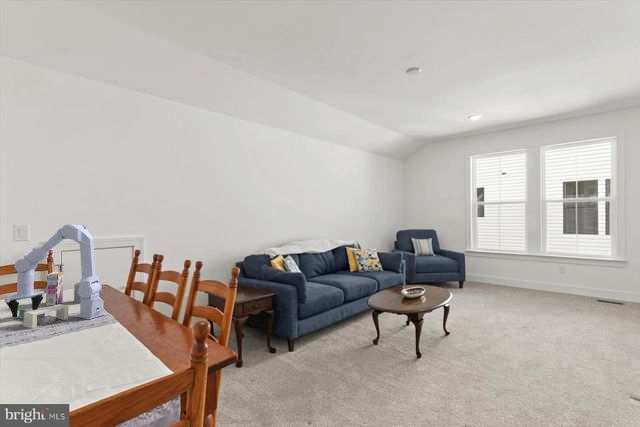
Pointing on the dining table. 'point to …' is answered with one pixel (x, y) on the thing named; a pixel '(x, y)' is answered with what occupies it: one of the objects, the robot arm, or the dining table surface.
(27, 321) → the plinth shelf
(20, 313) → the slat blade
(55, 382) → the dining table surface
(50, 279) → the candy bar box
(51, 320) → the steel token
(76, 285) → the cup
